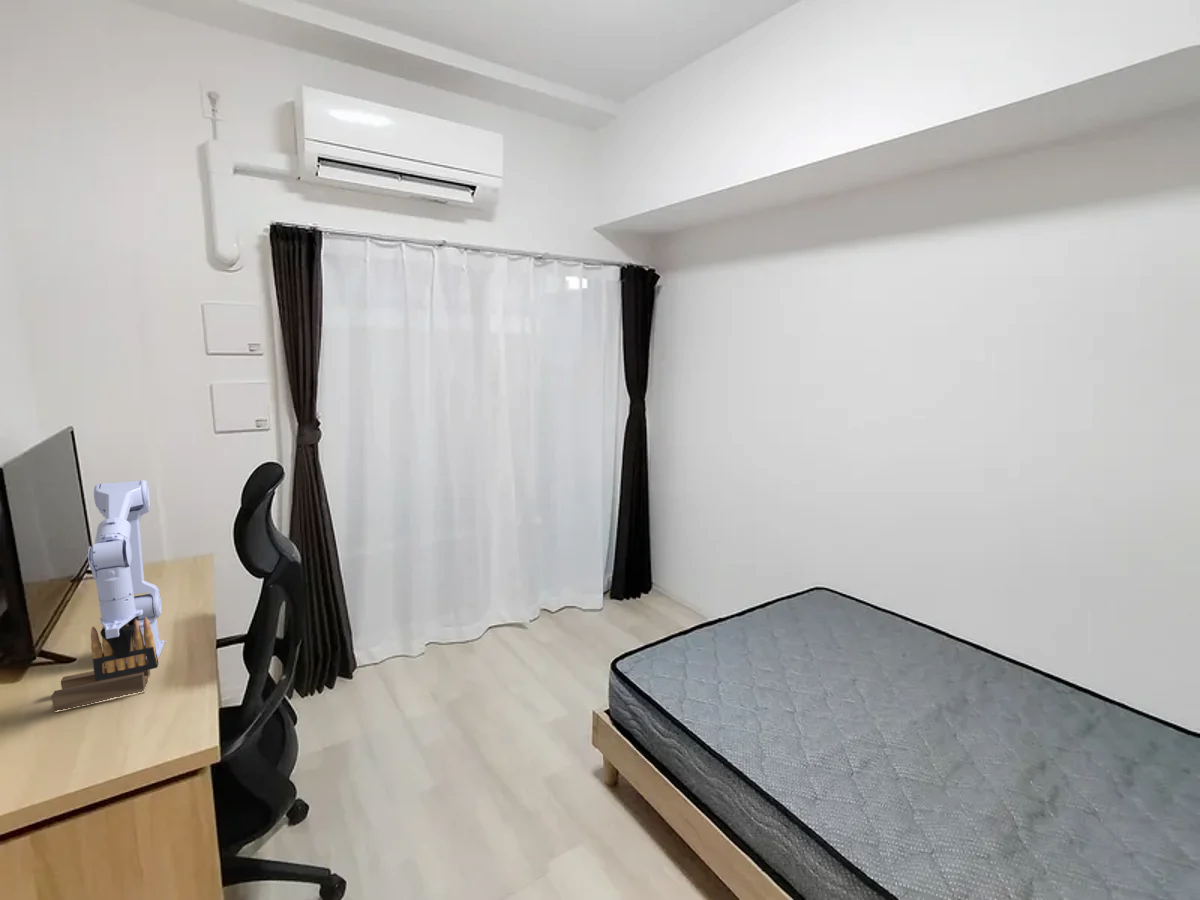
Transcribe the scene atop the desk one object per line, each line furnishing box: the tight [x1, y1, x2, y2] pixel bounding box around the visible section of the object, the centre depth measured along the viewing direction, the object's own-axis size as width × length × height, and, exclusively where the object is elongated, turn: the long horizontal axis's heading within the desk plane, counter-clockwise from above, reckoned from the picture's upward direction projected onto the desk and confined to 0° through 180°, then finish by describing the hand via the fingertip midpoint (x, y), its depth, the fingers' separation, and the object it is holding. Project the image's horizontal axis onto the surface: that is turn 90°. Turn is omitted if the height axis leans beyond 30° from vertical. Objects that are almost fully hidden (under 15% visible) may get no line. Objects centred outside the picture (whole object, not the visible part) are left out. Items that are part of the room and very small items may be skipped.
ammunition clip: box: [90, 617, 159, 681], centre depth 124 cm, size 11×2×12 cm, turn 121°
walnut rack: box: [51, 666, 151, 712], centre depth 127 cm, size 8×15×4 cm, turn 120°
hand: (124, 654), depth 124 cm, fingers closed on ammunition clip, 2 cm apart
